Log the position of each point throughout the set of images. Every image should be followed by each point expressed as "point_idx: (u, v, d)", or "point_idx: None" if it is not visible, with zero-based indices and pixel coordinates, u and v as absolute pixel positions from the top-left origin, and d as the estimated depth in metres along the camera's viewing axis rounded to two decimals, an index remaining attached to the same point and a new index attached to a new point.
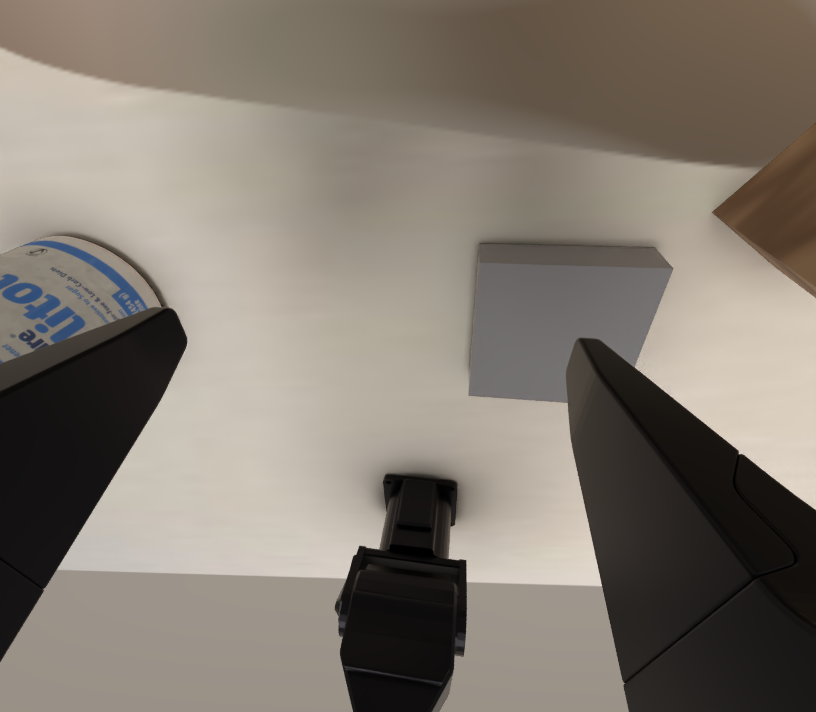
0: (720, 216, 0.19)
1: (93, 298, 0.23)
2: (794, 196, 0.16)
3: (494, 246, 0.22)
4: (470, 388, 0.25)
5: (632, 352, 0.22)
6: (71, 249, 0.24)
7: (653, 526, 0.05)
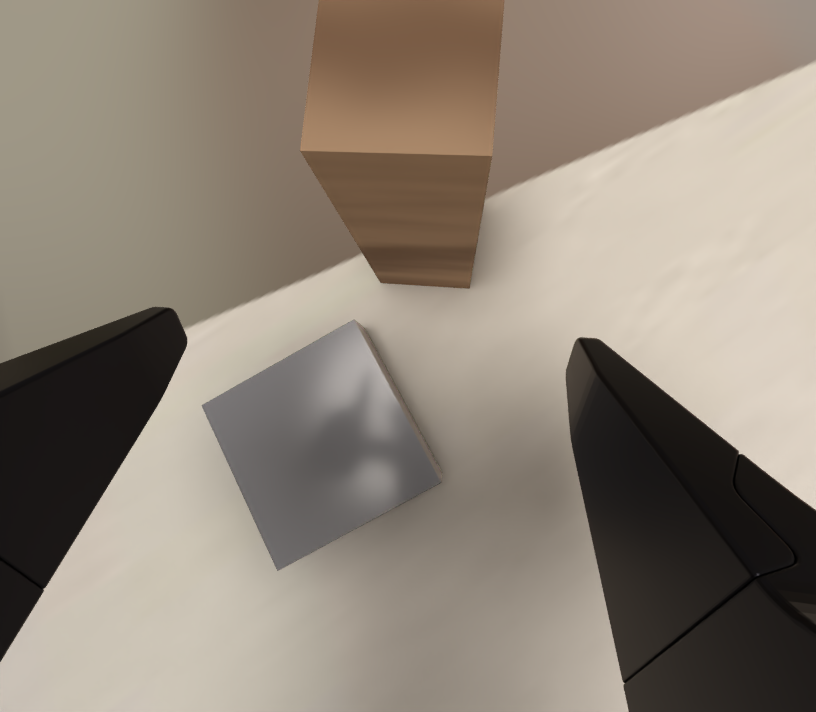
0: (378, 278, 0.22)
1: None
2: None
3: None
4: (273, 558, 0.20)
5: (393, 410, 0.20)
6: None
7: (653, 526, 0.05)
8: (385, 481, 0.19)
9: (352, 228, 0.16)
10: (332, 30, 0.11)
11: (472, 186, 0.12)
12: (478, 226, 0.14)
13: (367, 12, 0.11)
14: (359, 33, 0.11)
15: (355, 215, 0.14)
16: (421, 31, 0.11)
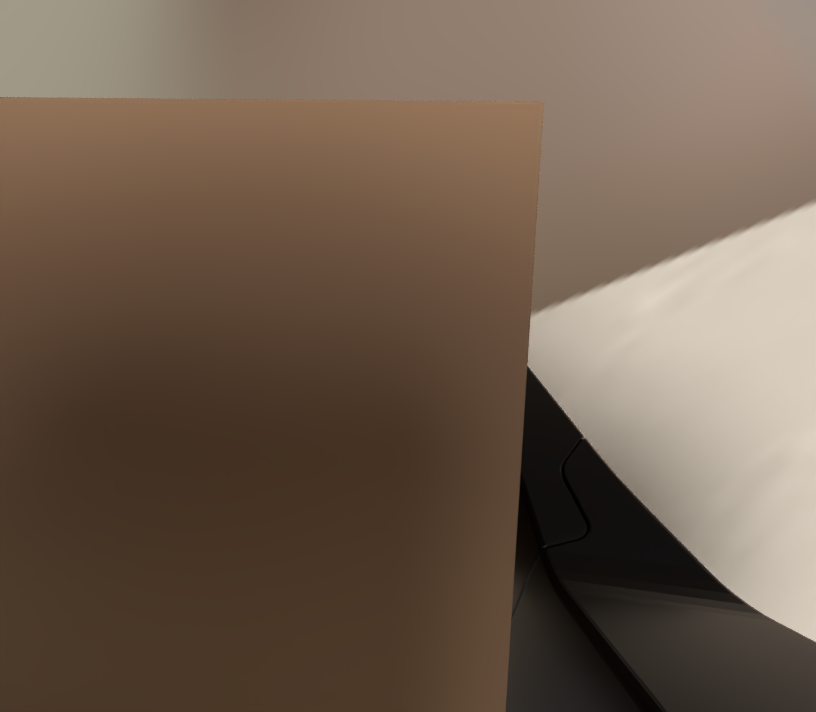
0: None
1: None
2: None
3: None
4: None
5: None
6: None
7: None
8: None
9: None
10: None
11: None
12: None
13: (88, 213, 0.03)
14: (58, 285, 0.03)
15: None
16: (253, 292, 0.03)
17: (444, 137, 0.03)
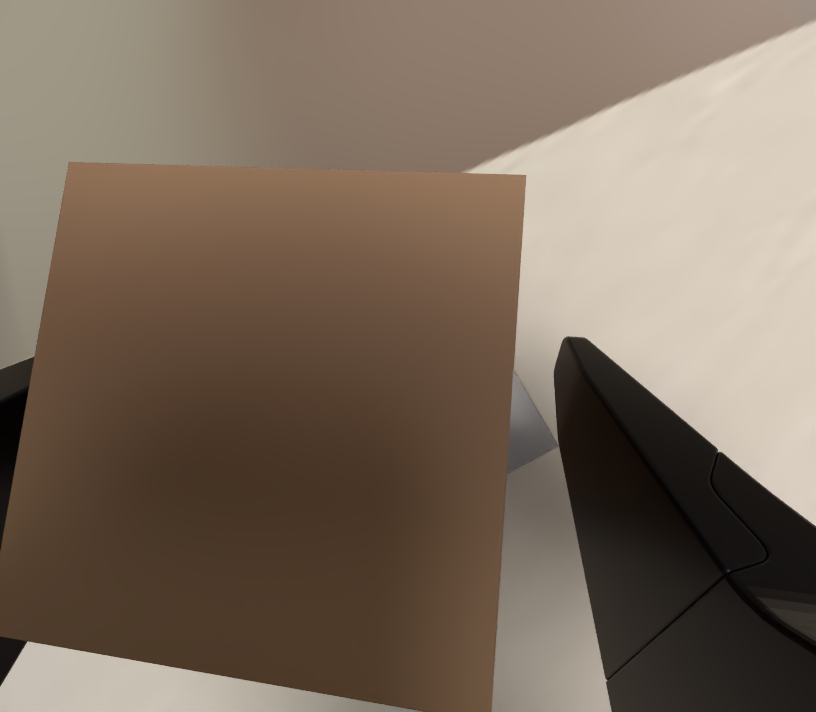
0: None
1: None
2: None
3: None
4: None
5: None
6: None
7: (633, 524, 0.05)
8: None
9: None
10: (85, 300, 0.04)
11: None
12: None
13: (171, 257, 0.04)
14: (149, 313, 0.04)
15: None
16: (303, 320, 0.04)
17: (451, 201, 0.04)
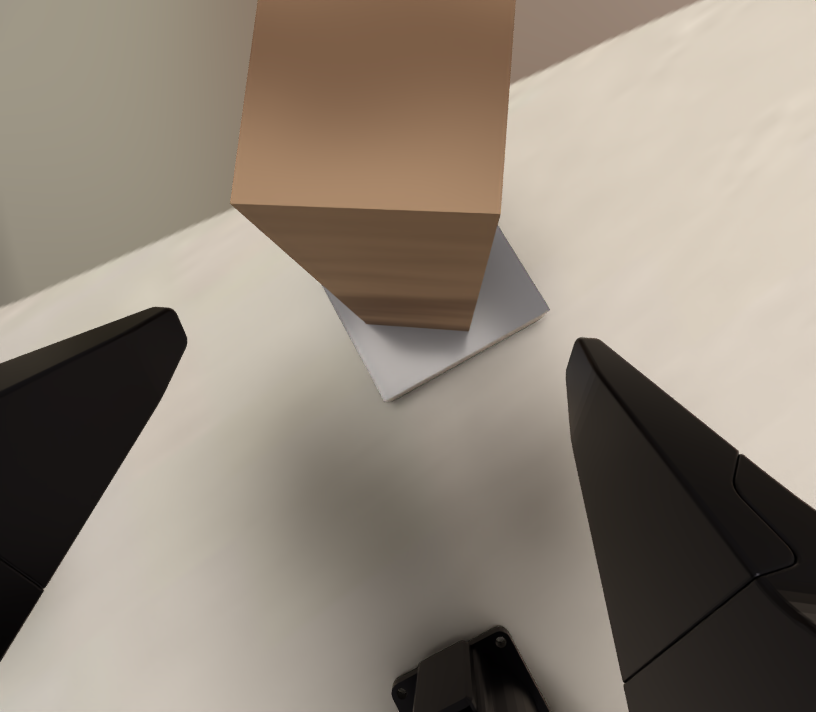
0: None
1: None
2: None
3: None
4: (379, 389, 0.20)
5: (499, 242, 0.20)
6: None
7: (653, 526, 0.05)
8: (492, 311, 0.19)
9: (322, 280, 0.12)
10: (276, 34, 0.08)
11: (472, 245, 0.09)
12: (480, 282, 0.11)
13: (325, 9, 0.08)
14: (313, 38, 0.08)
15: (323, 268, 0.11)
16: (399, 35, 0.08)
17: None
